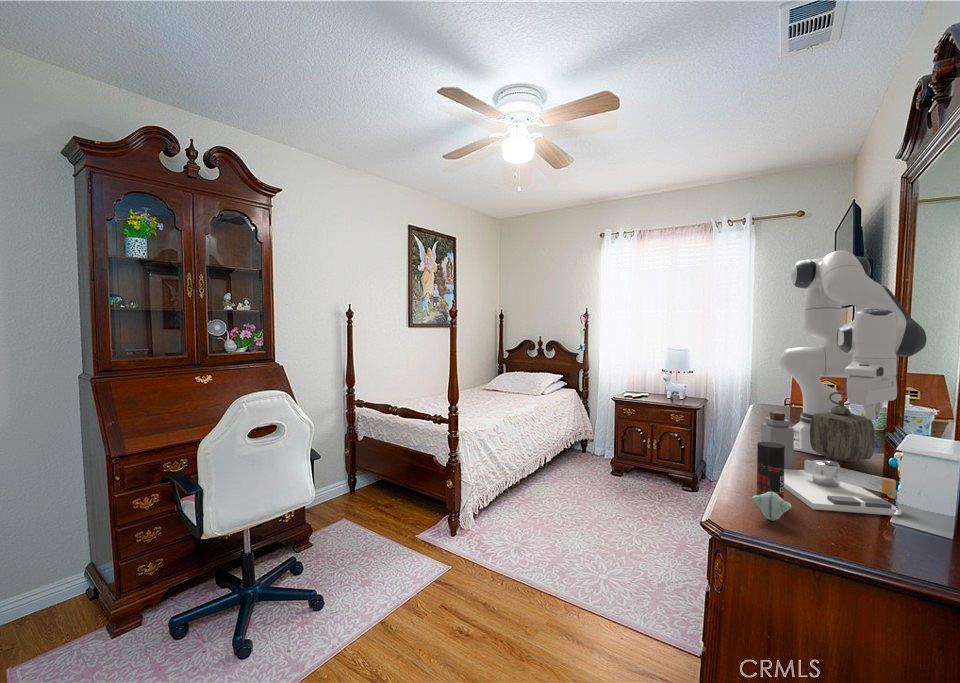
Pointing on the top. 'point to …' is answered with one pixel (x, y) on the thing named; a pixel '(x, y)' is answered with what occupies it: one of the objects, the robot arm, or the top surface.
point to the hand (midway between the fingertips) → (872, 418)
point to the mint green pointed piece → (771, 505)
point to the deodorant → (770, 468)
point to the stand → (834, 495)
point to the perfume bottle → (779, 435)
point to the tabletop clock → (842, 434)
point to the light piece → (846, 476)
